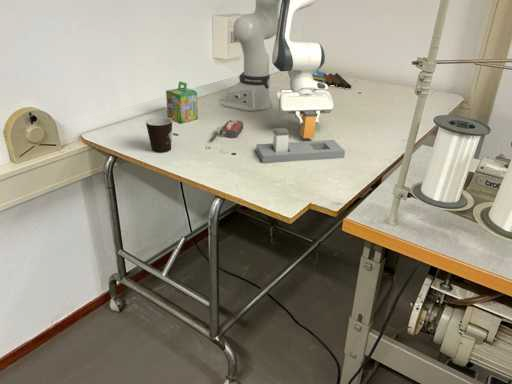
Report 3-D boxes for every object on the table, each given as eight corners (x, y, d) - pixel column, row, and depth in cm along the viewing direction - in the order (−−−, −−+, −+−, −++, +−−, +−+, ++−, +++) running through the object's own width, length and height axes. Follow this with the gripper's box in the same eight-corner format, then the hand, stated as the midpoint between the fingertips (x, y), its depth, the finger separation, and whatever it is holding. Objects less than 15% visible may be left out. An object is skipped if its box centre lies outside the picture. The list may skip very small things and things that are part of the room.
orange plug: (303, 138, 148) (306, 114, 144) (300, 134, 152) (302, 110, 147) (314, 137, 149) (316, 113, 145) (310, 133, 153) (313, 110, 148)
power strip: (262, 163, 132) (263, 156, 131) (256, 151, 141) (256, 144, 140) (344, 157, 138) (345, 150, 137) (332, 146, 147) (333, 139, 145)
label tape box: (324, 95, 206) (327, 70, 200) (321, 97, 203) (323, 72, 197) (308, 92, 210) (310, 68, 204) (305, 94, 207) (307, 69, 201)
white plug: (275, 158, 136) (276, 132, 132) (272, 153, 139) (273, 128, 135) (287, 157, 137) (288, 132, 132) (283, 153, 140) (285, 128, 136)
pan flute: (351, 90, 219) (339, 78, 240) (351, 83, 217) (339, 73, 239) (304, 89, 216) (296, 78, 238) (305, 83, 215) (297, 72, 237)
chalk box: (167, 118, 168) (164, 82, 161) (184, 113, 174) (182, 78, 167) (181, 124, 163) (178, 86, 156) (198, 119, 169) (197, 82, 162)
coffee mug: (162, 156, 135) (159, 127, 130) (143, 150, 139) (139, 121, 134) (185, 145, 144) (183, 117, 139) (167, 140, 148) (164, 113, 143)
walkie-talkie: (223, 126, 164) (207, 144, 146) (223, 115, 161) (207, 132, 144) (244, 128, 162) (231, 146, 145) (245, 117, 160) (231, 134, 143)
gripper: (277, 85, 146) (283, 121, 143) (331, 84, 150) (338, 119, 147) (273, 94, 152) (279, 128, 149) (325, 93, 156) (332, 126, 153)
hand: (308, 124), depth 148 cm, fingers closed on orange plug, 4 cm apart
